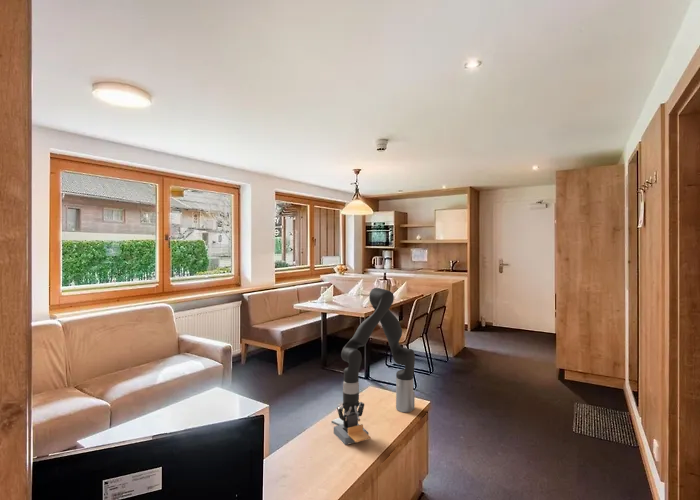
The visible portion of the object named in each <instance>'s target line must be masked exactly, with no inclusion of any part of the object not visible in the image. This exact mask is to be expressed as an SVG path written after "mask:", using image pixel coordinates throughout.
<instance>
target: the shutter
mask: <svg viewBox="0 0 700 500" xmlns="http://www.w3.org/2000/svg"><path fill="white" fill-rule="evenodd" d="M363 428H364V424H363V423H362V424H359V425H357V426H353V427H349V428H348V435H349V436H350V437H351V438H352V439H353V440H354V441H355V442H354V443H359V442H362V441H366V440H367V441H368V440H370V439H371V436H370V435H369V433H368V434H367V433H366V432H364V431H363Z"/></svg>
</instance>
